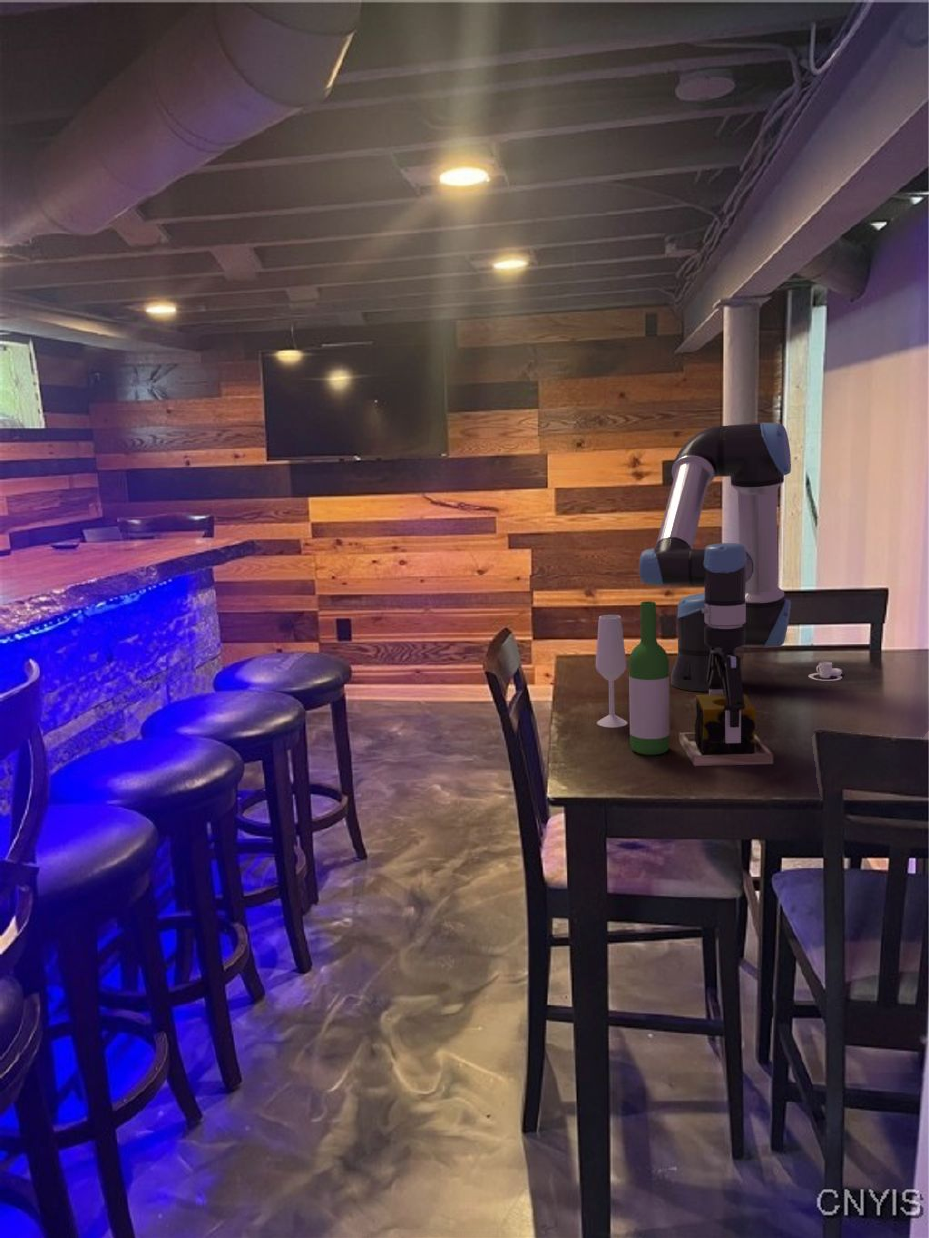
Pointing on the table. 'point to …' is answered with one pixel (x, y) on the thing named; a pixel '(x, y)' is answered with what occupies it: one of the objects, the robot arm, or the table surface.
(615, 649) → the champagne flute
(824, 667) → the teacup and saucer
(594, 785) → the table surface
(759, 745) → the slot frame
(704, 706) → the candle
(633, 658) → the wine bottle
